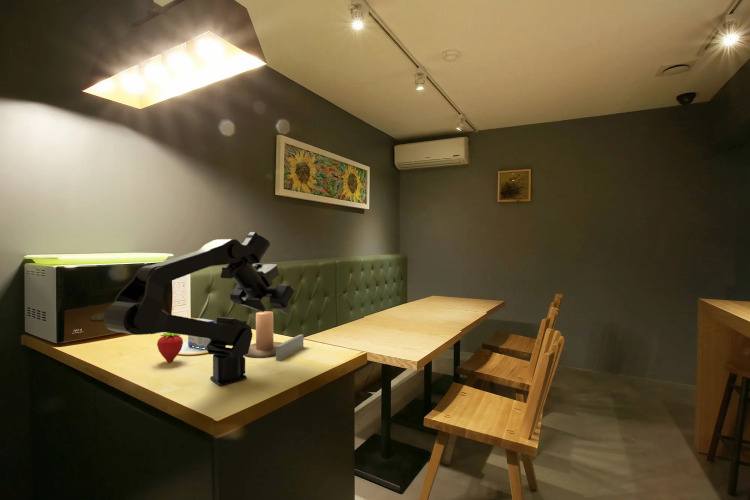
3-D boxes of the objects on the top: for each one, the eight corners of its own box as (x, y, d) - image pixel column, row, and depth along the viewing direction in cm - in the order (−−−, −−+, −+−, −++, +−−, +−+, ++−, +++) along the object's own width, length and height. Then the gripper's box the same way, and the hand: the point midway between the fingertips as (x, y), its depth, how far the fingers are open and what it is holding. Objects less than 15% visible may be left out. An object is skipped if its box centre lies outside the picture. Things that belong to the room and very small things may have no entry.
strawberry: (173, 357, 102) (173, 323, 102) (188, 361, 99) (188, 326, 98) (152, 363, 97) (151, 327, 97) (166, 368, 94) (166, 330, 93)
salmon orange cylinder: (270, 350, 106) (270, 314, 106) (253, 350, 107) (253, 314, 106) (275, 345, 112) (275, 311, 111) (259, 345, 112) (259, 311, 112)
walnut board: (254, 361, 99) (254, 358, 99) (233, 350, 109) (233, 348, 109) (297, 350, 109) (297, 347, 109) (273, 341, 119) (273, 339, 119)
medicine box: (187, 346, 113) (187, 320, 113) (200, 343, 117) (199, 317, 117) (203, 350, 110) (203, 322, 110) (215, 346, 114) (215, 319, 114)
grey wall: (279, 360, 100) (279, 346, 99) (275, 360, 100) (275, 346, 100) (303, 346, 113) (303, 334, 113) (300, 346, 113) (300, 334, 113)
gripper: (289, 254, 92) (314, 291, 102) (238, 254, 100) (265, 288, 110) (268, 288, 85) (297, 324, 95) (214, 284, 93) (246, 317, 103)
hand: (276, 311), depth 101 cm, fingers open, 9 cm apart
